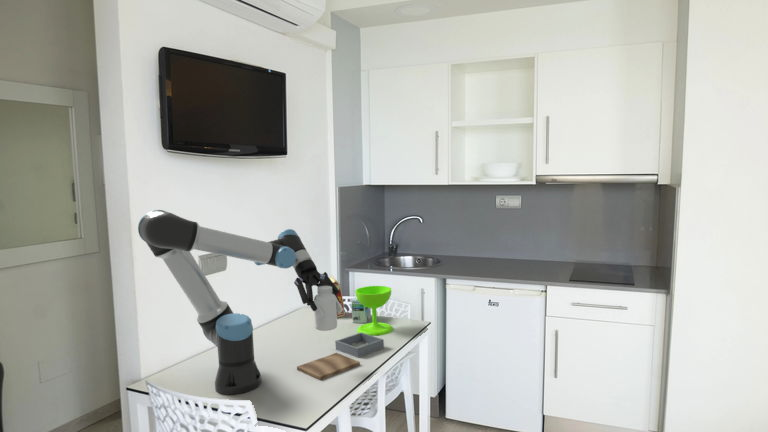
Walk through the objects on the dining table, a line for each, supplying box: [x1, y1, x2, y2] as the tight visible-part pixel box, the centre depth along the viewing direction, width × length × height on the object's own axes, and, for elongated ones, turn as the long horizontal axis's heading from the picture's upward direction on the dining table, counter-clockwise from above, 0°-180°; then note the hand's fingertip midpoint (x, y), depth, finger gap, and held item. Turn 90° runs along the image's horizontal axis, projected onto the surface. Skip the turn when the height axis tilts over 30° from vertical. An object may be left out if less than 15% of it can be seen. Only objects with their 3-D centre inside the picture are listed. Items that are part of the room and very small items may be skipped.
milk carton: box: [329, 274, 346, 319], centre depth 253 cm, size 9×9×20 cm
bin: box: [335, 332, 385, 359], centre depth 206 cm, size 14×14×4 cm
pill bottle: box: [313, 286, 338, 332], centre depth 186 cm, size 8×8×15 cm
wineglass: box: [354, 285, 394, 337], centre depth 228 cm, size 16×16×18 cm
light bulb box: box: [351, 296, 372, 324], centre depth 244 cm, size 11×7×11 cm, turn 168°
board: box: [296, 352, 361, 381], centre depth 188 cm, size 18×14×1 cm
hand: (331, 314), depth 184 cm, fingers closed on pill bottle, 8 cm apart
